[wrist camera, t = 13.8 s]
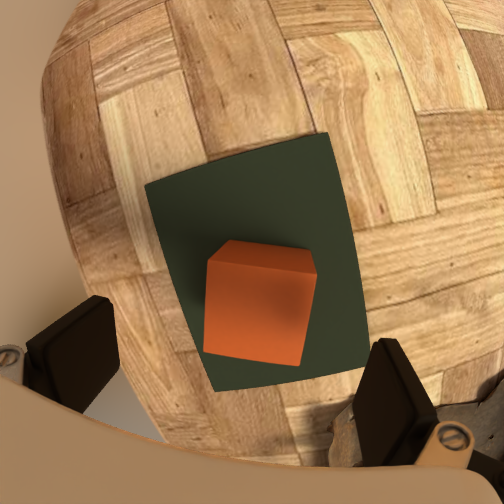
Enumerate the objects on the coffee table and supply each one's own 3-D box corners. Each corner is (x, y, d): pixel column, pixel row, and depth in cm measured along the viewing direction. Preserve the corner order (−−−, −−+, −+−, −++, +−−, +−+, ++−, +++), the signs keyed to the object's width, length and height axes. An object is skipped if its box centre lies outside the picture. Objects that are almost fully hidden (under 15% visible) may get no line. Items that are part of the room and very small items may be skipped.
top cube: (222, 313, 20) (202, 352, 15) (228, 239, 19) (207, 259, 14) (298, 323, 19) (299, 366, 14) (310, 249, 18) (317, 274, 13)
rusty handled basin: (500, 458, 21) (524, 505, 12) (302, 508, 26) (298, 573, 16) (554, 335, 17) (607, 381, 8) (297, 398, 21) (294, 504, 12)
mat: (147, 185, 19) (143, 185, 18) (326, 133, 17) (327, 131, 16) (216, 387, 22) (214, 392, 21) (370, 360, 20) (372, 365, 19)
